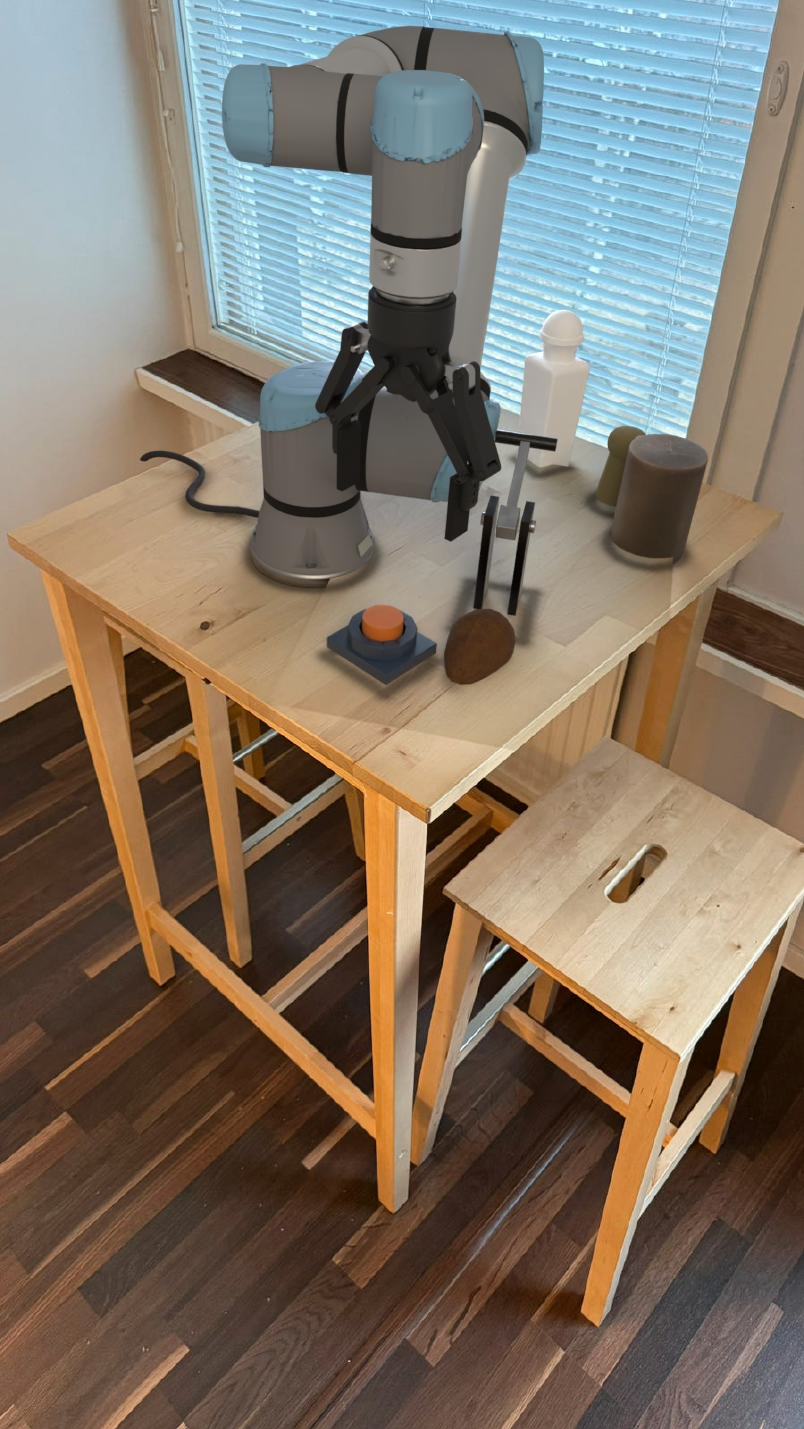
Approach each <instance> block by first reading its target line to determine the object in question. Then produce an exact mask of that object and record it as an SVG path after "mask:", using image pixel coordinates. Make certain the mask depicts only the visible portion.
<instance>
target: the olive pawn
mask: <svg viewBox="0 0 804 1429" xmlns="http://www.w3.org/2000/svg"><path fill="white" fill-rule="evenodd" d="M640 435H641V436H642V435H647V434H646V432H645V431H644V430H642V429H641V428H638V427H636V426H631V425H621V426H618V427H615V428H613V429H612V430H611V432H610V433H609V435H608V438H607V444H606V445H607V449H608V452H609V453H608V455H607V459H606V461H605V464H604V468H603V470H602V473H601V476H600V479H599V481H598V484H597V487H596V490H595V493H594V494H595V497H596V499H598V501H600V502H601V503H603V504H605V505H608V506H612V507H616V505H617V501H618V496H619V491H620V487H621V483H622V478H623V473H624V469H625V464H626V459H627V454H628V449H629V445H630V443H631V442H632V441H633V440H634V439H636V437H637V436H640Z"/></svg>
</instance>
